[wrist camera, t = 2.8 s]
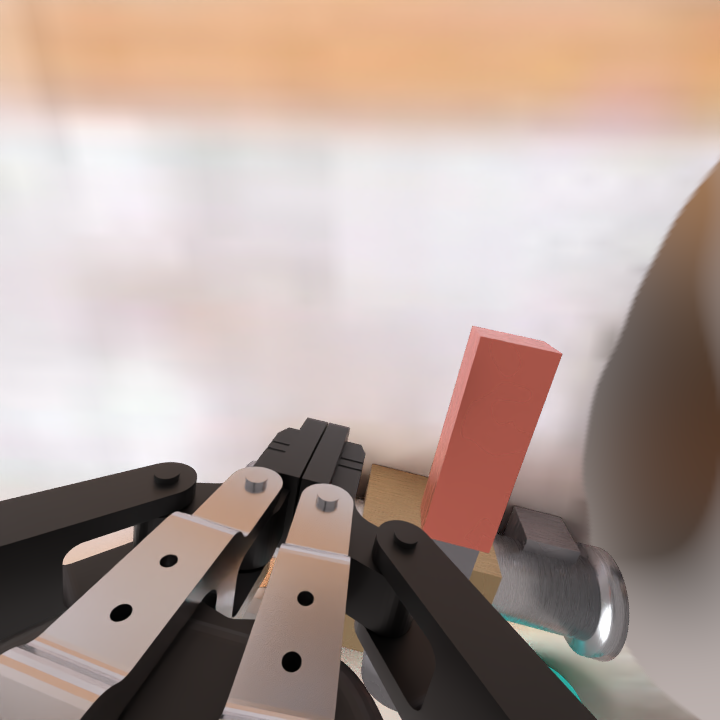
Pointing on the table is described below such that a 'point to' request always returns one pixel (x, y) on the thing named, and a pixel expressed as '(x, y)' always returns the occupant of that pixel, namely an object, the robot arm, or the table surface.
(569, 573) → the valve body
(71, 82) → the table surface
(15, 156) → the table surface
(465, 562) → the lever
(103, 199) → the table surface
